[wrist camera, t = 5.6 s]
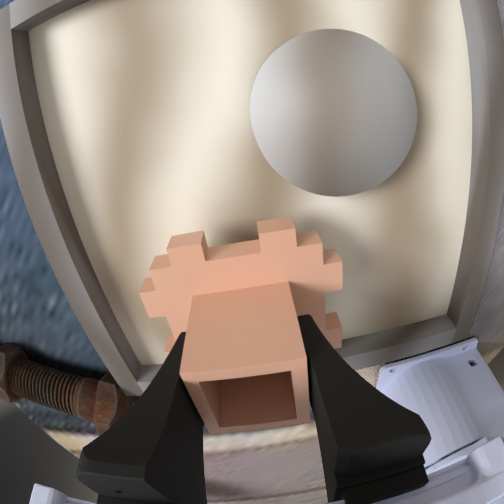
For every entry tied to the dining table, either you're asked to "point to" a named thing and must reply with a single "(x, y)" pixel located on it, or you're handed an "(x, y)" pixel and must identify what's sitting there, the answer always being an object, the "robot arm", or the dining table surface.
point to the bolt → (61, 389)
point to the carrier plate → (261, 153)
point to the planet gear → (245, 321)
